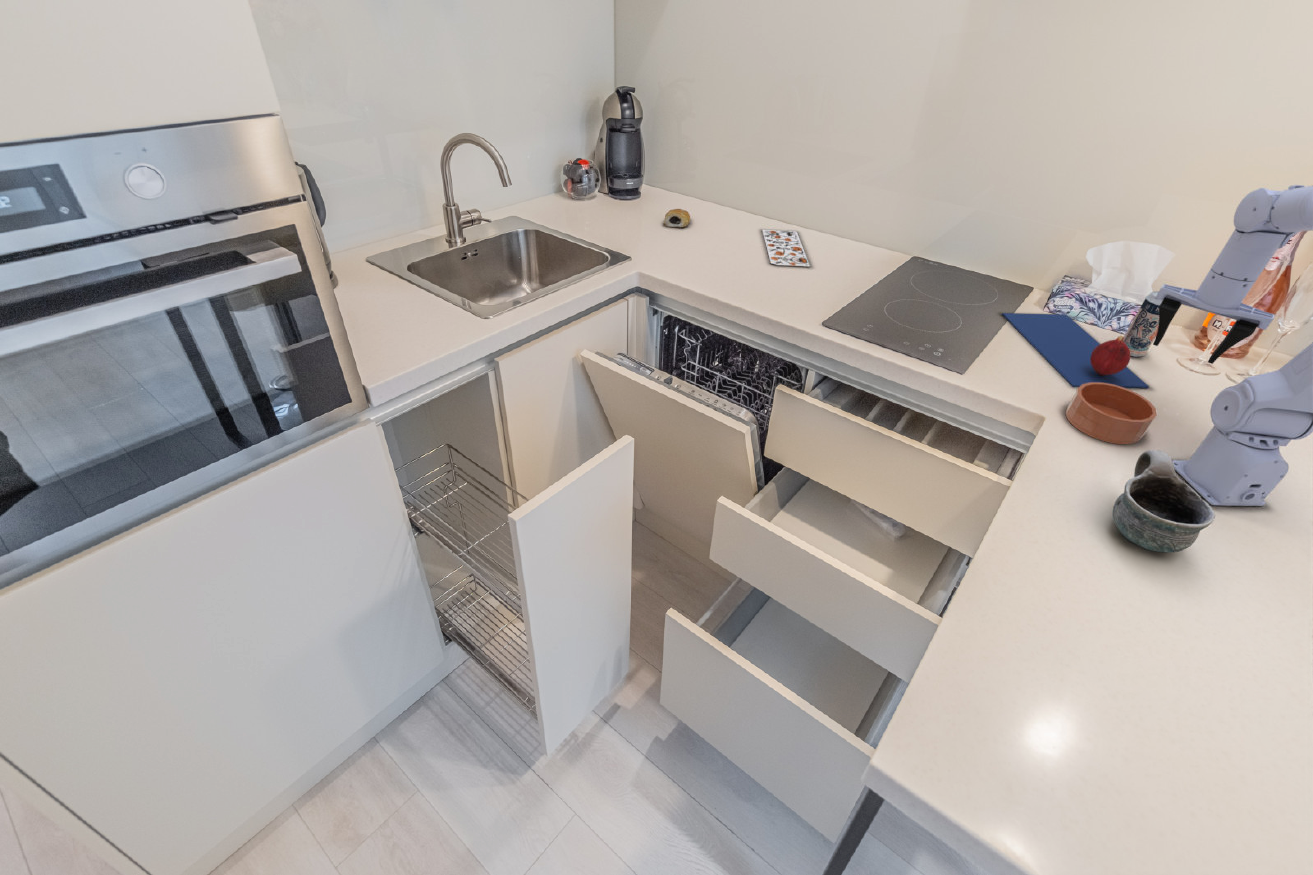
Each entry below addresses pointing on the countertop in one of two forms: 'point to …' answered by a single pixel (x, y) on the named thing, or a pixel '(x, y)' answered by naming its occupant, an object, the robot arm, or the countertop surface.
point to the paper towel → (785, 248)
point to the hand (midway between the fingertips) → (1183, 352)
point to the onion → (1110, 357)
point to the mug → (1160, 507)
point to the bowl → (1110, 413)
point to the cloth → (1068, 348)
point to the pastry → (677, 218)
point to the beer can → (1143, 326)
